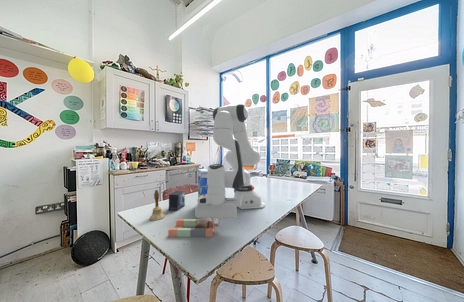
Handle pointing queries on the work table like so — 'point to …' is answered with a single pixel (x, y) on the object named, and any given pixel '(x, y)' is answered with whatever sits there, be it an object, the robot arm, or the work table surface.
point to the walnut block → (201, 224)
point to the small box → (176, 200)
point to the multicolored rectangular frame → (191, 229)
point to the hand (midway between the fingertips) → (216, 226)
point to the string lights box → (202, 182)
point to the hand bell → (156, 209)
